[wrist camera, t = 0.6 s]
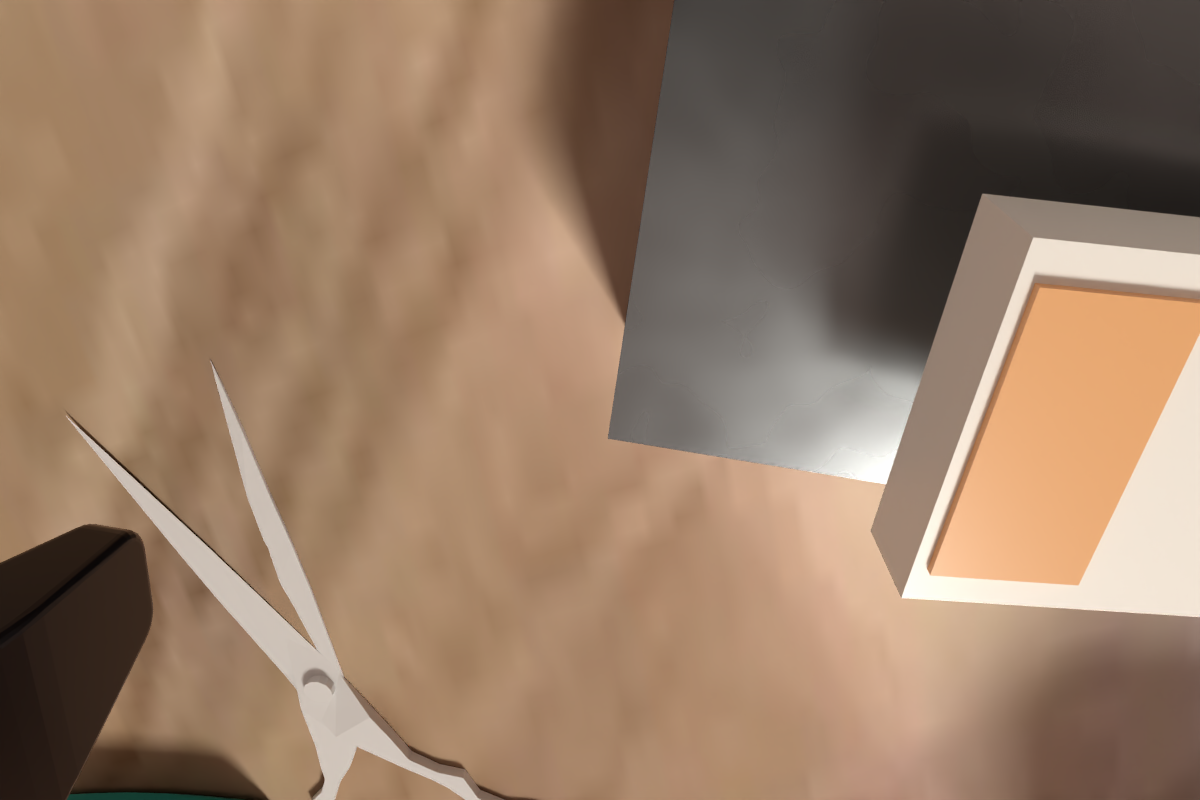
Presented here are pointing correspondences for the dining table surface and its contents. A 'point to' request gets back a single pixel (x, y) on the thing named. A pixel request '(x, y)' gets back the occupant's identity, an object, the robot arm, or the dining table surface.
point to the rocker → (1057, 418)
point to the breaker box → (869, 198)
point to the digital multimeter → (142, 796)
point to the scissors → (292, 630)
